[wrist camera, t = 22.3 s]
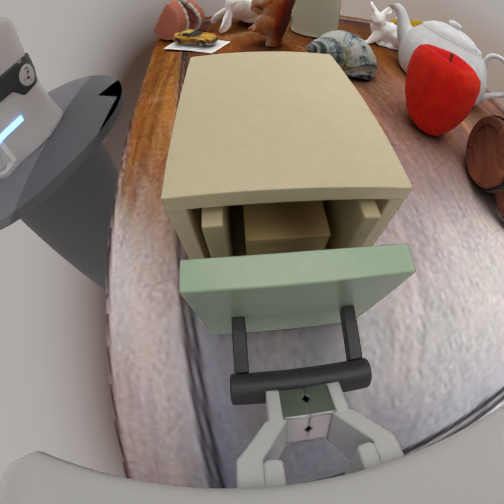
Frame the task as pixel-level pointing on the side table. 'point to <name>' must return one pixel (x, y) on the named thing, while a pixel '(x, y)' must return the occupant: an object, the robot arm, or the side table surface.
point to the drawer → (293, 292)
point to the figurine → (272, 19)
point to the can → (315, 17)
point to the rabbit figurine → (383, 29)
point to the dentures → (179, 18)
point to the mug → (487, 157)
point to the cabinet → (274, 141)
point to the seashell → (347, 53)
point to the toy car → (196, 41)
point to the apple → (439, 89)
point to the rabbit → (234, 13)
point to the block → (285, 227)
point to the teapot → (442, 45)
